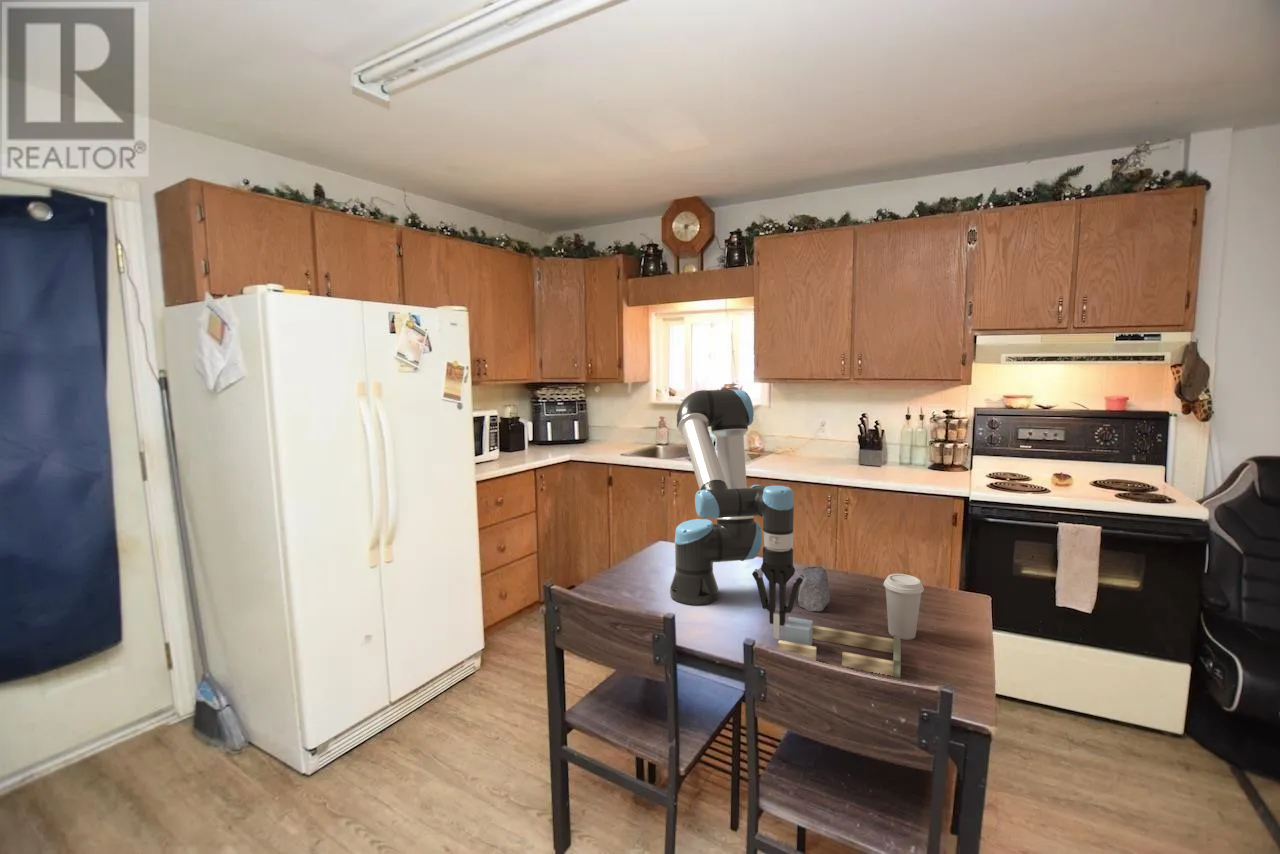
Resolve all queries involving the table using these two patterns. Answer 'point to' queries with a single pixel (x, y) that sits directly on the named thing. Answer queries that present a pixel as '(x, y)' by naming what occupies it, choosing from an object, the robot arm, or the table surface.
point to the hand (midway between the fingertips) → (777, 636)
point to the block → (799, 631)
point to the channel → (858, 641)
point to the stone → (814, 589)
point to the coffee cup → (903, 604)
